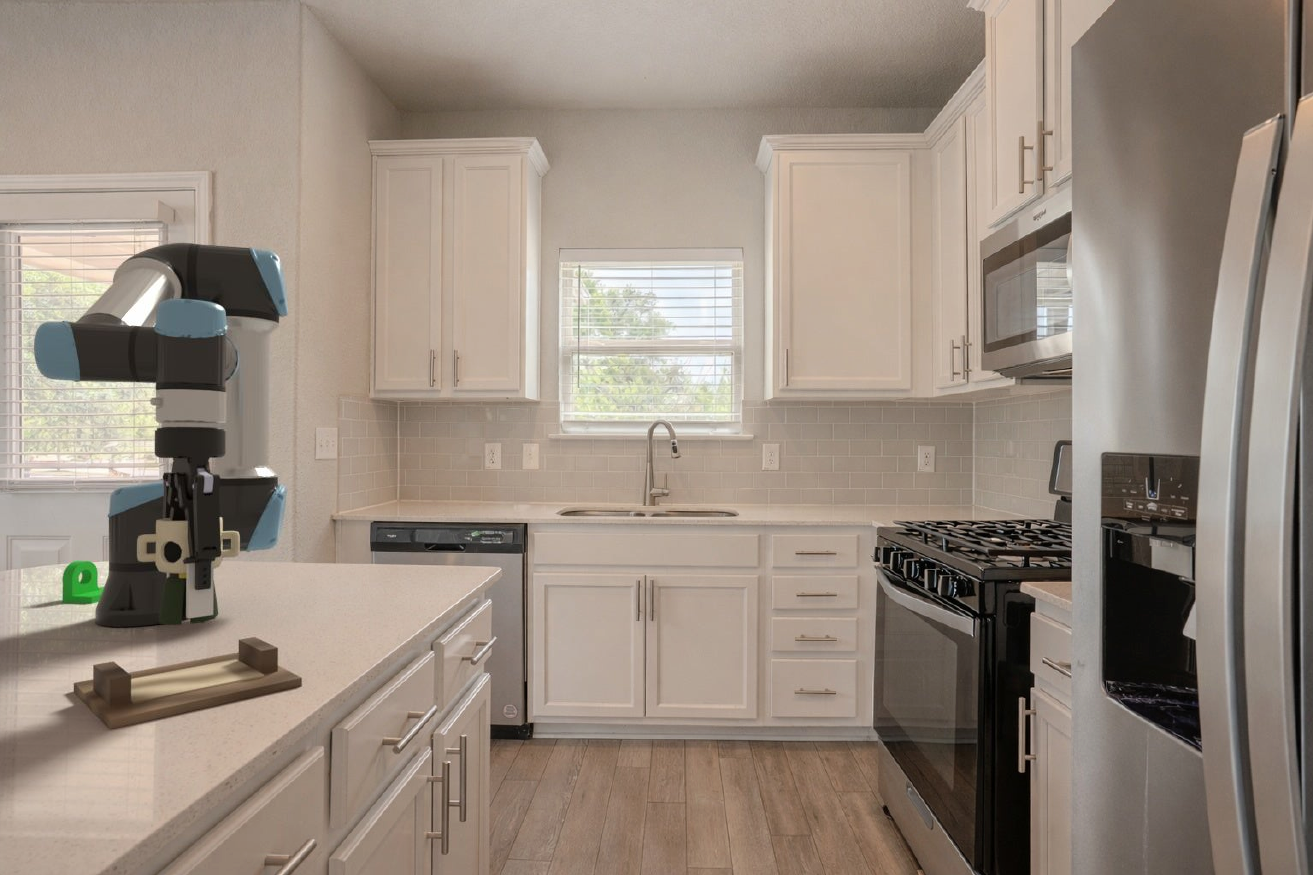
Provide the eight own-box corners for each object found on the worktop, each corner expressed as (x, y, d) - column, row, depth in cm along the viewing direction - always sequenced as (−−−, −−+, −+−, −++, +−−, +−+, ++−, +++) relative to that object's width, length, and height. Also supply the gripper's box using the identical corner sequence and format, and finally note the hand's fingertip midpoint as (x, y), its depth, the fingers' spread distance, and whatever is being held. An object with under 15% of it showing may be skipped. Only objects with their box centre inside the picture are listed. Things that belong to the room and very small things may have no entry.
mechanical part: (91, 607, 141) (92, 564, 141) (62, 606, 142) (62, 563, 142) (143, 594, 153) (143, 554, 153) (115, 593, 154) (116, 553, 154)
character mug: (130, 634, 89) (131, 522, 89) (141, 622, 96) (142, 517, 96) (237, 625, 94) (238, 519, 94) (240, 614, 100) (241, 514, 101)
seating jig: (73, 690, 94) (73, 658, 94) (248, 657, 108) (248, 629, 108) (110, 729, 82) (110, 691, 82) (301, 685, 96) (302, 653, 96)
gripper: (133, 426, 99) (131, 604, 99) (181, 423, 86) (180, 629, 85) (198, 428, 105) (196, 596, 104) (253, 425, 91) (252, 618, 91)
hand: (189, 611), depth 95 cm, fingers closed on character mug, 7 cm apart
